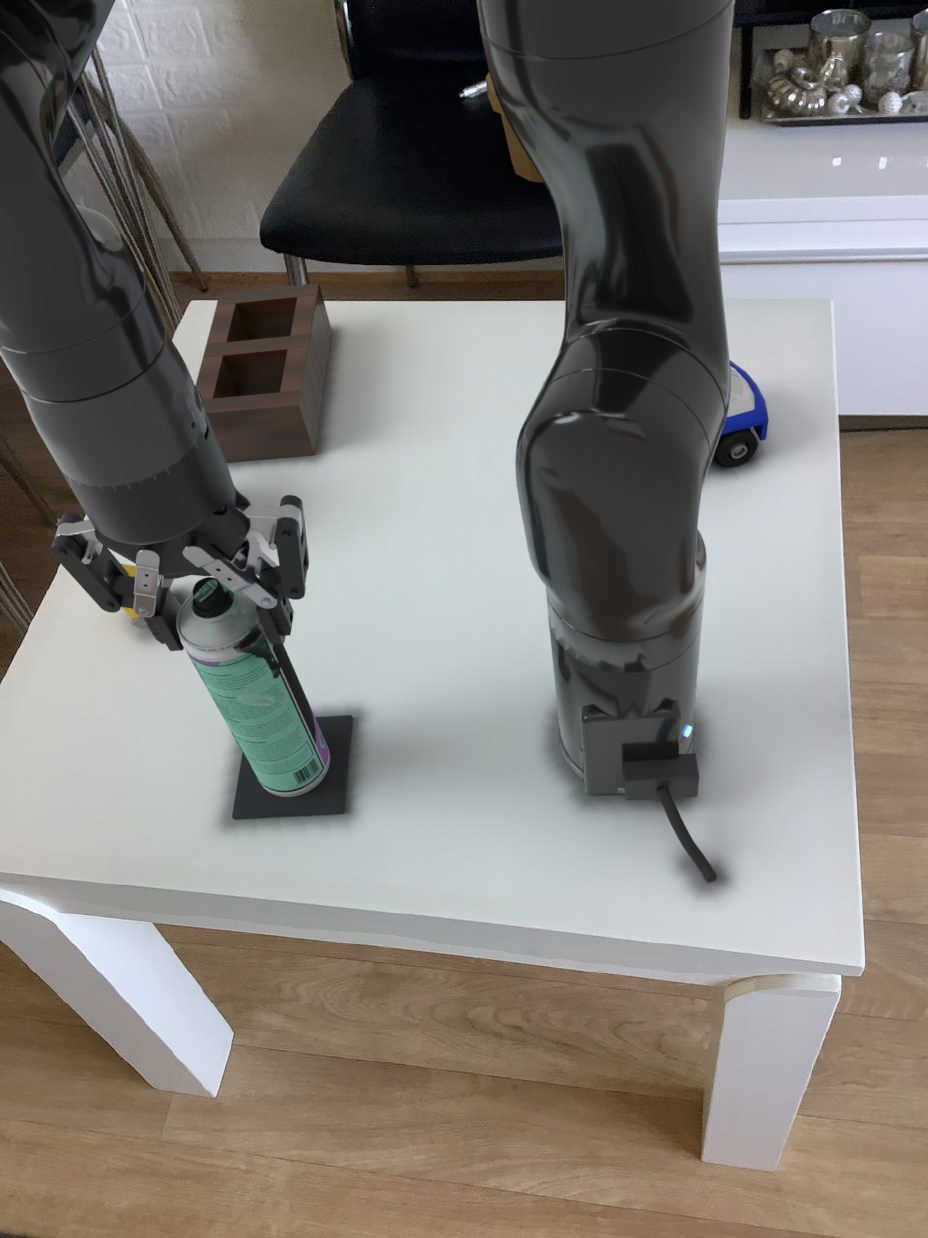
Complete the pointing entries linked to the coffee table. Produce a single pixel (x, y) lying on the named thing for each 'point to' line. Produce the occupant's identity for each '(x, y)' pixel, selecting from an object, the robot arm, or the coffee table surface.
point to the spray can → (253, 688)
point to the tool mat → (317, 801)
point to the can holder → (266, 371)
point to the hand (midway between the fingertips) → (230, 635)
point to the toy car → (742, 420)
